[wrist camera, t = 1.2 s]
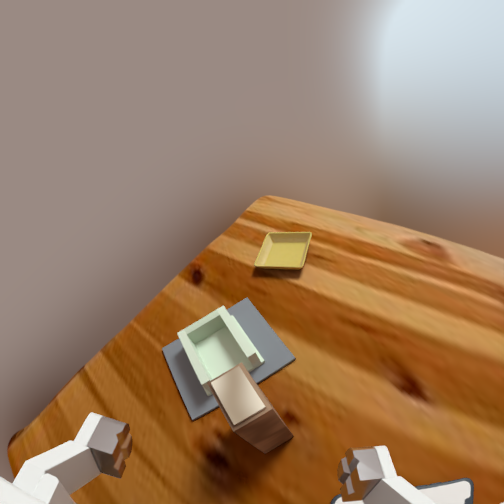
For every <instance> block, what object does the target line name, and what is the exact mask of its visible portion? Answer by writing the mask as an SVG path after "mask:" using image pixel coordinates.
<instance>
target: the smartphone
mask: <svg viewBox="0 0 504 504" xmlns="http://www.w3.org/2000/svg"><path fill="white" fill-rule="evenodd" d="M415 488H416V489H418V490H419V491H420V492H422V493H423V494H424V495H426V496H427V497H428V498H430V499H431V500H432V501H434V502H435V503H436V504H473V491H474V484H473V482H472V480H471V479H469V478H462V479H457V480H453V481H448V482H444V483H441V482H439V483H434V484H430V485H422V486H416V487H415ZM362 501H363V500H361V501H350V502H342V497H341V494H339V495H337V496H335V497H334V498H333V499H332V501H331V504H364V503H363V502H362Z"/></svg>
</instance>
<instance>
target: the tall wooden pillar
mask: <svg viewBox="0 0 504 504" xmlns="http://www.w3.org/2000/svg"><path fill="white" fill-rule="evenodd" d="M207 384H208V386H209V388H210V390H211V392H212V394H213V395H214V397H215V399H216V401H217V403H218V405H219V407H220V409H221V410H222V412H223V414H224V416H225V418H226V419H227V421H228V423H229V425H230V427H231V428H232V430H233V432H235V433H236V434H237V435H239V436H240V437H241V438H243V439H244V440H246V441H247V442H248V443H250V444H251V445H253V446H254V447H256V448H257V449H259V450H260V451H262V452H263V453H265V454H266V453H267V452H269V451H271V450H272V449H274V448H276V447H278V446H279V445H281V444H283V443H284V442H286V441H287V440H289V439H291V438H292V437H294V436H293V434H292V433H291V432H290V430H289V429H288V427H287V426H286V425H285V423H284V422H283V420H282V419H281V418H280V416H279V415H278V413H277V412H276V410H275V409H274V407H273V406H272V405H271V403H270V402H269V400H268V399H267V397H266V396H265V395H264V393H263V392H262V390H261V389H260V388H259V386H258V385H257V383H256V382H255V381H254V379H253V378H252V376H251V375H250V374H249V372H248V371H247V369H246V368H245V366H244V365H243V363H242V362H241V363H240V364H238V365H236V366H235V367H233V368H231V369H230V370H228V371H226V372H225V373H223V374H221V375H220V376H218V377H216V378H214V379H213V380H211V381H209V382H208V383H207Z"/></svg>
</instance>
